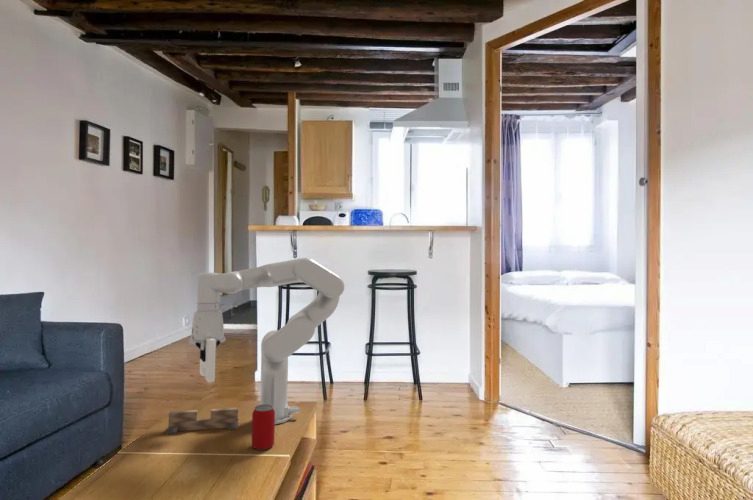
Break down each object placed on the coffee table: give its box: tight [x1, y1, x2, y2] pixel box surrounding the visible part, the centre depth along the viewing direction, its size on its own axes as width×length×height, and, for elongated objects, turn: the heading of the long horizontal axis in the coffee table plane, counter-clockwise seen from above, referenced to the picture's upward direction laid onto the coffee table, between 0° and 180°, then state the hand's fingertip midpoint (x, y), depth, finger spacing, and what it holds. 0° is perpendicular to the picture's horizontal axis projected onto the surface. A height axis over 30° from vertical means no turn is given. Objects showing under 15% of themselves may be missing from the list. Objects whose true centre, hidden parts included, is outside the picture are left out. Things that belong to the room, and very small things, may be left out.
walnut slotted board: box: [166, 407, 239, 435], centre depth 150 cm, size 22×6×6 cm, turn 103°
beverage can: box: [251, 404, 276, 451], centre depth 136 cm, size 7×7×12 cm
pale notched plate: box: [199, 338, 217, 383], centre depth 155 cm, size 2×14×14 cm, turn 33°
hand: (207, 360), depth 155 cm, fingers closed on pale notched plate, 2 cm apart
